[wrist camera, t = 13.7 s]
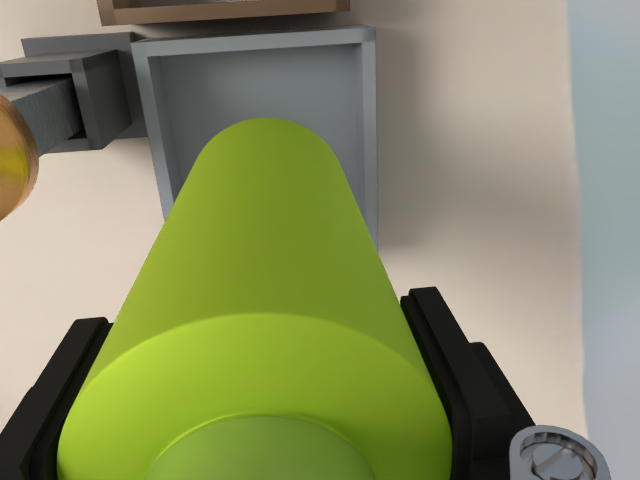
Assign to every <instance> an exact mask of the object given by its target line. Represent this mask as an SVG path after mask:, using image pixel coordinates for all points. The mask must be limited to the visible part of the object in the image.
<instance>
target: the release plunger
mask: <svg viewBox="0 0 640 480" xmlns="http://www.w3.org/2000/svg"><path fill="white" fill-rule="evenodd" d="M83 128H85V127H84V122H83V118H82V114H81V110H80V106H79V102H78V97H77V93H76V89H75V85H74V81H73V77H72V73H64V74H49V75H45V76H41V77H38V78H35V79H32V80H28V81H25V82H22V83H19V84H15V85H12V86H9V87H5V88H2V89H0V221H1V220H2V219H4V218H5V217H6V216H7V215H9V214H10V213H11V212H12V211H14V210H15V209H16V208H17V207H18V206H20V205H21V204H22V203H23V202H24V201H25V200H26V199H27V197H28V196H29V195H30V193H31V191H32V190H33V188H34V185H35V183H36V180H37V175H38V168H39V157H40V156H42V155H43V154H45V153H46V152H48V151H49V150H51V149H52V148H54V147H55V146H57V145H59V144H60V143H62V142H63V141H65V140H66V139H68V138H69V137H71V136H72V135H74V134H75V133H77V132H78V131H80V130H82V129H83Z"/></svg>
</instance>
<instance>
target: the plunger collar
mask: <svg viewBox="0 0 640 480" xmlns="http://www.w3.org/2000/svg"><path fill="white" fill-rule="evenodd" d="M21 42H22V46H23V49H24V53H25V57H23V58H18V59H13V60H8V61H3V62H0V89H2V88H5V87H9V86H12V85H15V84H19V83H22V82H25V81H28V80H32V79H35V78H38V77H41V76H45V75H49V74H64V73H72V77H73V81H74V85H75V89H76V93H77V97H78V102H79V106H80V110H81V114H82V118H83V122H84V127H85V128H83V129H82V130H80V131H78V132H77V133H75V134H74V135H72V136H71V137H69V138H68V139H66V140H65V141H63V142H62V143H60V144H59V145H57V146H55V147H54V148H52V149H51V150H49V151H48V152H46V153H45V154H47V153H60V152H73V151H87V150H100V149H103V148H105V147H106V146H107V145H108V144H109V143H110V142H112V141H113V140H114V139H124V138H137V137H148V132H147V127H146V122H145V117H144V112H143V106H142V101H141V96H140V91H139V85H138V80H137V75H136V70H135V65H134V59H133V54H132V49H131V44H130V43H132V42H135V41H134V36H133V32H120V33H104V34H88V35H73V36H57V37H41V38H26V39H21Z"/></svg>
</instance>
